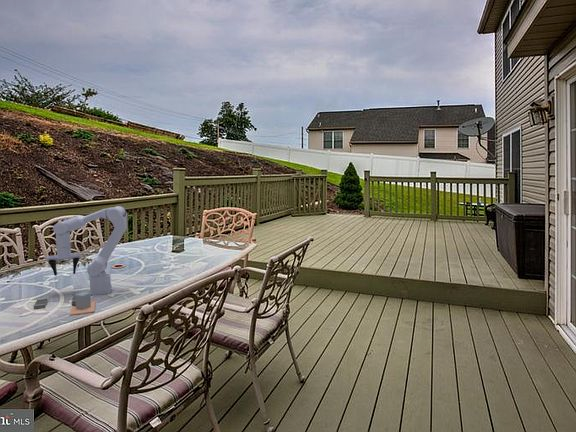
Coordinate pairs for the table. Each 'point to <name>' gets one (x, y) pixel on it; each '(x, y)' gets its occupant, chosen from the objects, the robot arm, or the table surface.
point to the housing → (43, 302)
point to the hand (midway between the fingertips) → (65, 274)
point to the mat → (79, 311)
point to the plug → (82, 300)
